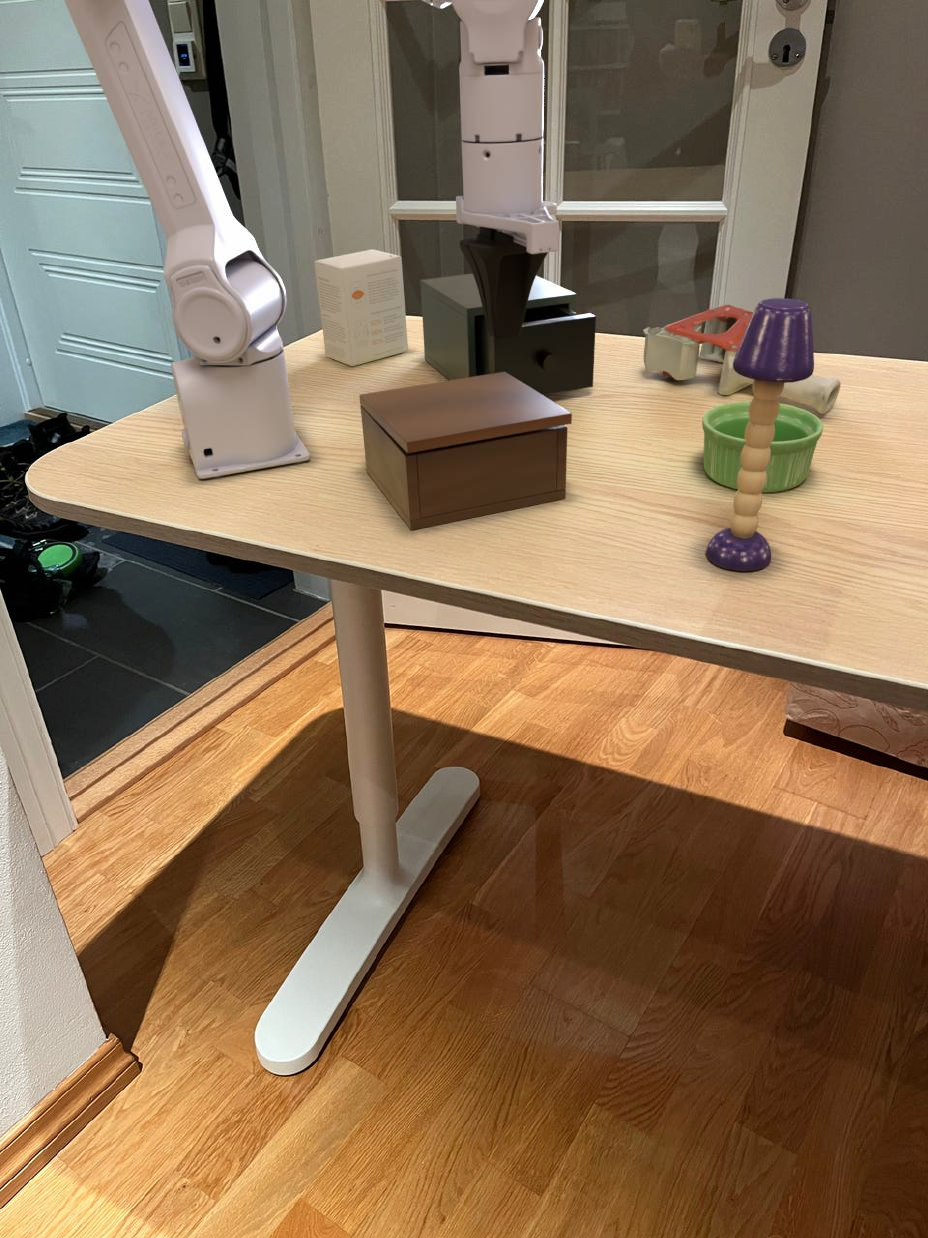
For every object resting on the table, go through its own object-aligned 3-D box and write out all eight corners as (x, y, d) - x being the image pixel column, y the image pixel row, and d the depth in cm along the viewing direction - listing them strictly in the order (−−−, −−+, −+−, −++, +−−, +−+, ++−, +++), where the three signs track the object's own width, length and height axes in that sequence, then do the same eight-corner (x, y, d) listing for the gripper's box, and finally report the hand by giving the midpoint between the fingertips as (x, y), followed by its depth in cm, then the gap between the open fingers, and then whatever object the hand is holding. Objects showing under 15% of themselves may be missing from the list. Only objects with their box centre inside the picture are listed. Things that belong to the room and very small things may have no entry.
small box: (381, 342, 107) (373, 248, 101) (409, 351, 103) (403, 254, 98) (324, 356, 103) (312, 259, 97) (351, 367, 99) (340, 267, 94)
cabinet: (574, 379, 93) (576, 293, 88) (469, 397, 90) (466, 308, 85) (519, 345, 104) (519, 267, 99) (424, 360, 101) (420, 279, 96)
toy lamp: (728, 533, 64) (762, 289, 55) (791, 553, 61) (838, 299, 52) (694, 559, 61) (724, 305, 52) (759, 581, 58) (803, 317, 49)
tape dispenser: (840, 434, 82) (796, 354, 98) (855, 378, 79) (808, 305, 95) (644, 425, 83) (633, 347, 99) (652, 369, 80) (639, 299, 96)
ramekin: (697, 448, 77) (702, 398, 74) (808, 454, 75) (817, 402, 73) (696, 493, 70) (702, 439, 67) (819, 500, 68) (830, 445, 65)
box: (565, 498, 70) (567, 426, 66) (410, 530, 66) (405, 456, 63) (505, 446, 79) (505, 381, 76) (366, 472, 75) (360, 404, 72)
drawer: (599, 390, 87) (602, 319, 84) (500, 407, 84) (499, 333, 81) (538, 353, 98) (539, 288, 95) (449, 367, 95) (446, 300, 92)
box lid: (571, 423, 66) (572, 412, 65) (407, 453, 62) (406, 442, 62) (505, 380, 76) (504, 371, 75) (360, 404, 72) (359, 394, 72)
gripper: (602, 142, 58) (594, 352, 66) (513, 128, 70) (514, 308, 77) (502, 151, 57) (504, 366, 64) (427, 134, 68) (437, 318, 75)
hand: (504, 335), depth 71 cm, fingers closed
